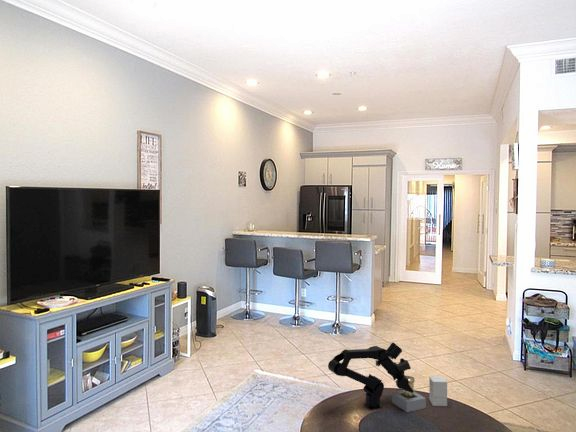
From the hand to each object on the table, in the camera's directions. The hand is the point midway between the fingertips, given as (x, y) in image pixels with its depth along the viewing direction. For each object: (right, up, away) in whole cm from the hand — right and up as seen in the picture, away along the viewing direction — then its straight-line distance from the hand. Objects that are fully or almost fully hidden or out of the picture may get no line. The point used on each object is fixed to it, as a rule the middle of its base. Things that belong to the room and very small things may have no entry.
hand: (411, 388), depth 210 cm
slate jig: (-1, -9, 0) cm, 9 cm away
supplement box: (+15, -9, +3) cm, 18 cm away
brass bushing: (-1, -8, 0) cm, 8 cm away
